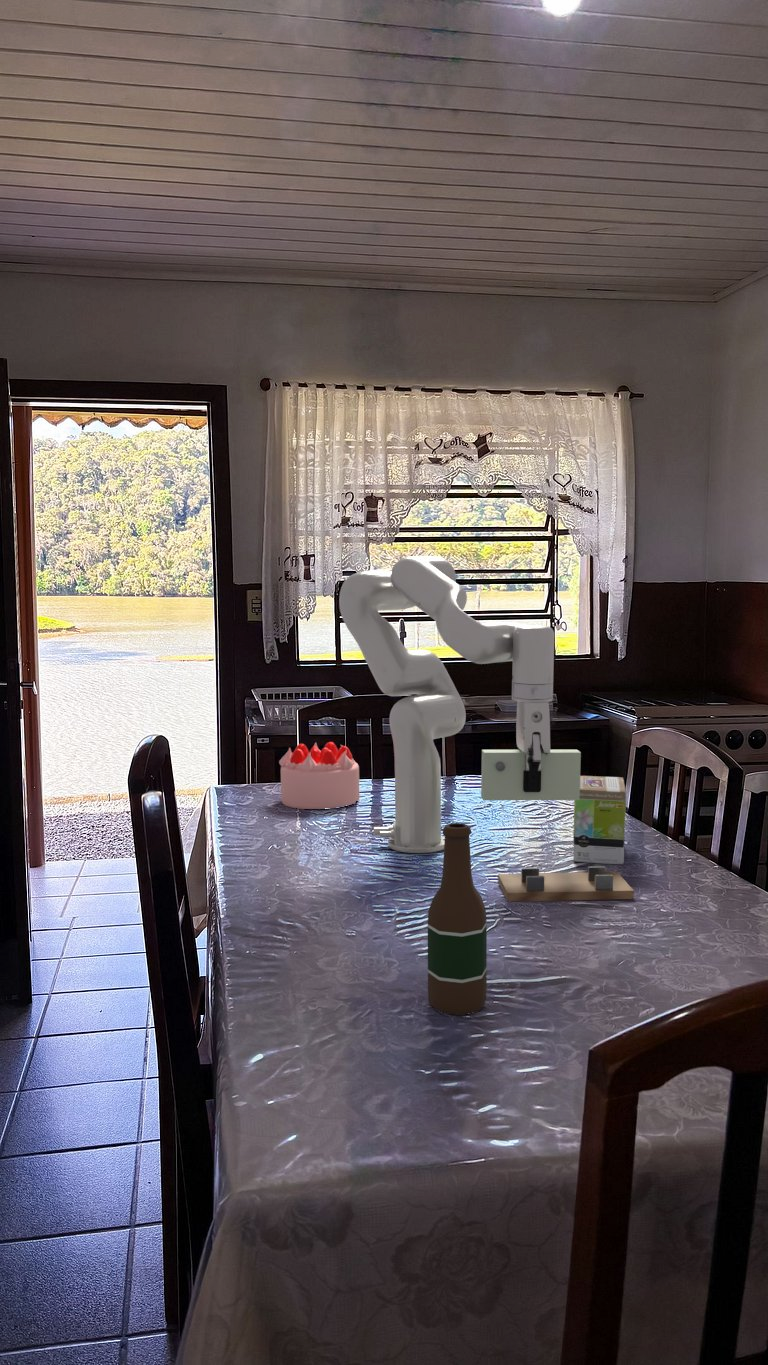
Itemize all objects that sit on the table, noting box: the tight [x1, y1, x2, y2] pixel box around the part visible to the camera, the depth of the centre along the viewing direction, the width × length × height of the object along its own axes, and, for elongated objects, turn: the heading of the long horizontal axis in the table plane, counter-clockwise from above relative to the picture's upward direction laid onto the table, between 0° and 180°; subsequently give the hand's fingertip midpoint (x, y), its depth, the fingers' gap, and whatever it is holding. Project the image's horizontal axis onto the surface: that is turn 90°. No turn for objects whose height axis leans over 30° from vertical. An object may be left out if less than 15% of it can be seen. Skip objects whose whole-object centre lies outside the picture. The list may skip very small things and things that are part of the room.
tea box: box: [572, 775, 627, 865], centre depth 199 cm, size 15×10×15 cm, turn 168°
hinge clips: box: [520, 865, 613, 892], centre depth 174 cm, size 15×6×2 cm, turn 92°
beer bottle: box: [427, 822, 488, 1016], centre depth 128 cm, size 8×8×24 cm
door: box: [480, 748, 582, 801], centre depth 184 cm, size 18×4×9 cm, turn 92°
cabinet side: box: [497, 871, 635, 902], centre depth 176 cm, size 22×11×2 cm, turn 92°
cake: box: [278, 741, 360, 810], centre depth 248 cm, size 20×20×14 cm
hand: (530, 788), depth 185 cm, fingers closed on door, 3 cm apart
